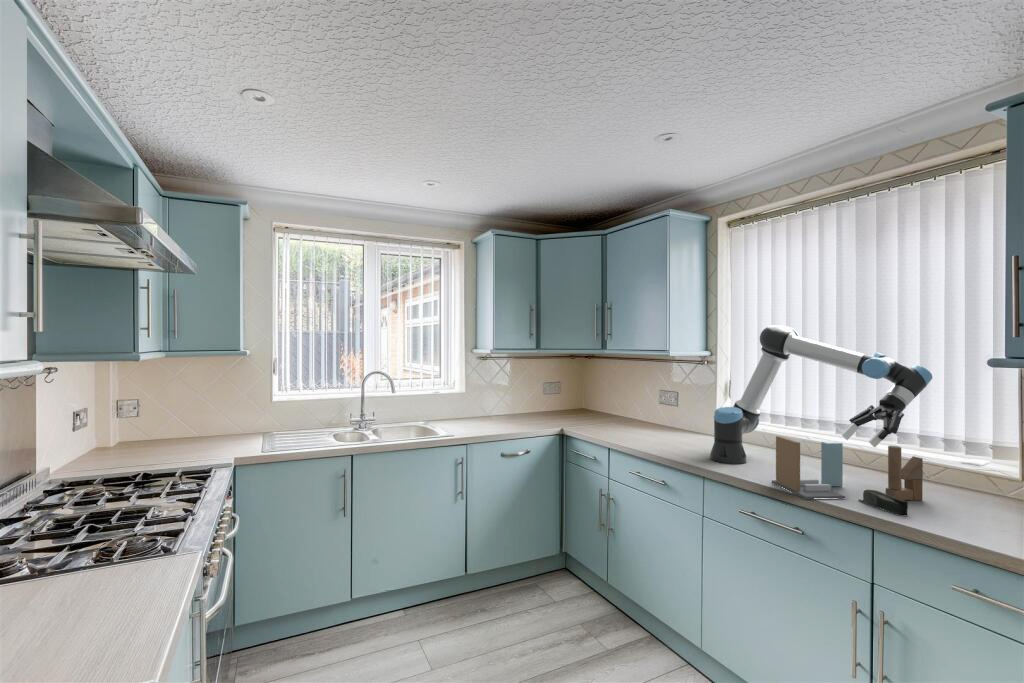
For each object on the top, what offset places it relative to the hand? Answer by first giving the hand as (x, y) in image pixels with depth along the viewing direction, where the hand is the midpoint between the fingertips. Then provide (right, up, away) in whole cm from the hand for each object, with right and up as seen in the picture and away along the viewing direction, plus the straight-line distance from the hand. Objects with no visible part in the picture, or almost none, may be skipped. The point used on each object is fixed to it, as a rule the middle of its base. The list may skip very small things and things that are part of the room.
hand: (857, 440), depth 184 cm
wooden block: (+4, -17, -17) cm, 24 cm away
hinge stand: (-23, -16, -7) cm, 29 cm away
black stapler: (-10, -17, -26) cm, 33 cm away
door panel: (-10, -17, 0) cm, 19 cm away
